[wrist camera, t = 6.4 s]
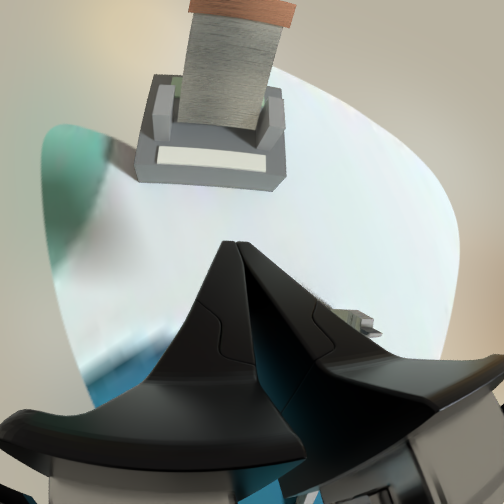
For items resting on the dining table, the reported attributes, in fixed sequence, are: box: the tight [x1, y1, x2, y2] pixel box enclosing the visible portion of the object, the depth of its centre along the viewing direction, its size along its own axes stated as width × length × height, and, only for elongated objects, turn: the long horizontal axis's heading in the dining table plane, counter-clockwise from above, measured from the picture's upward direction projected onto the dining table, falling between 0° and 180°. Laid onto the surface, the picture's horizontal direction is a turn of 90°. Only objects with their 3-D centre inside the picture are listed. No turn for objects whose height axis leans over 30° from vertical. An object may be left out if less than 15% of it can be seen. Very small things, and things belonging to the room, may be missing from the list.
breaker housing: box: [134, 74, 286, 192], centre depth 18 cm, size 8×10×6 cm
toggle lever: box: [177, 0, 296, 130], centre depth 14 cm, size 2×6×9 cm
